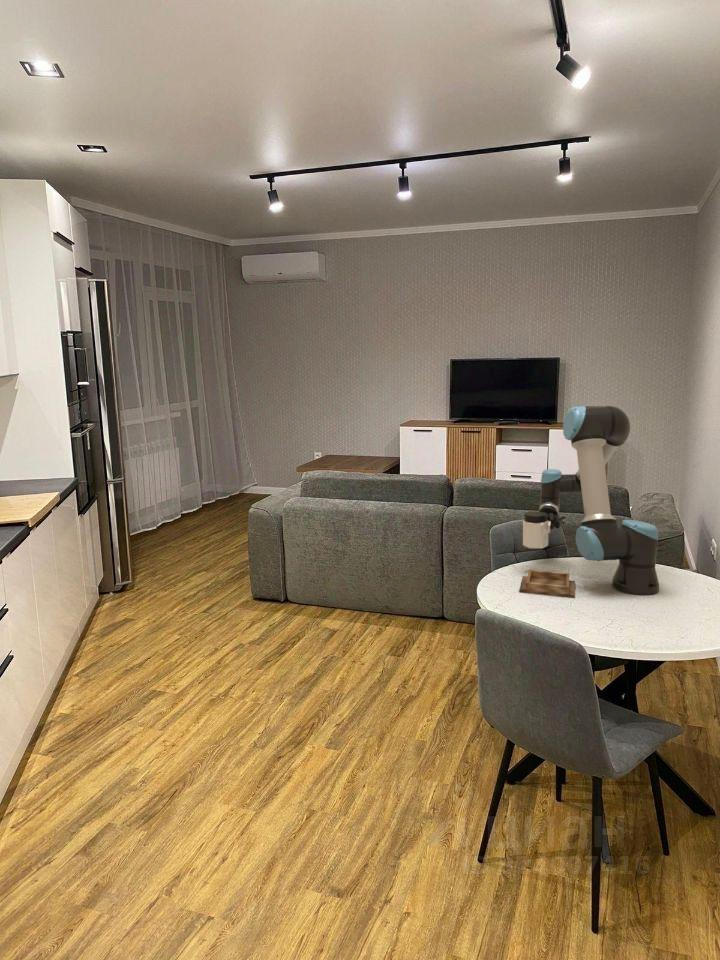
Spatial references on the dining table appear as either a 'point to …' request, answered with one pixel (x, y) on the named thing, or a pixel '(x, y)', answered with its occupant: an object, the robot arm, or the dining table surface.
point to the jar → (535, 529)
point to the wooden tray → (548, 584)
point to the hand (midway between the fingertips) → (545, 529)
